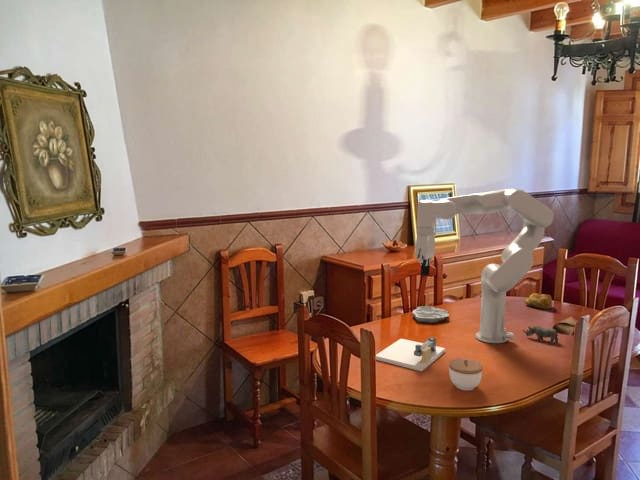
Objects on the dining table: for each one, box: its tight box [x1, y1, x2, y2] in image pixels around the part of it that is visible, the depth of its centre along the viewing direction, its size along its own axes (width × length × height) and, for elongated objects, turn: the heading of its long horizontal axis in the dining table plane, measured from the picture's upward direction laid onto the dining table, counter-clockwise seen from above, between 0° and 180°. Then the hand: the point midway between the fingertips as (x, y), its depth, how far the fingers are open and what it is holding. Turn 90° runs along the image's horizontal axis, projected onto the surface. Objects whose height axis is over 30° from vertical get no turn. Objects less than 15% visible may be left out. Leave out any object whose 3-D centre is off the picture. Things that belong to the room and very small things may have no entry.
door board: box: [376, 338, 446, 372], centre depth 192 cm, size 19×22×6 cm
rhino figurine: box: [522, 325, 559, 345], centre depth 208 cm, size 4×14×6 cm, turn 53°
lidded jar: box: [448, 357, 484, 392], centre depth 166 cm, size 11×11×9 cm
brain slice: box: [412, 305, 450, 324], centre depth 238 cm, size 20×17×3 cm
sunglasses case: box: [552, 315, 578, 337], centre depth 222 cm, size 18×7×7 cm
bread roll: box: [524, 292, 553, 310], centre depth 254 cm, size 13×10×8 cm
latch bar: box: [414, 336, 437, 357], centre depth 188 cm, size 16×3×6 cm, turn 146°
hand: (425, 274), depth 207 cm, fingers closed
